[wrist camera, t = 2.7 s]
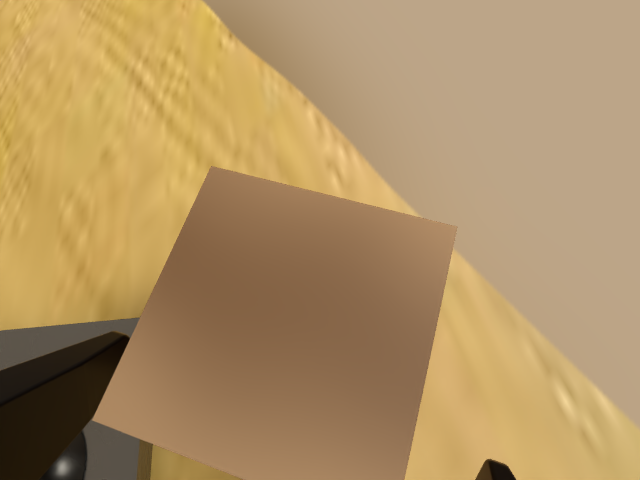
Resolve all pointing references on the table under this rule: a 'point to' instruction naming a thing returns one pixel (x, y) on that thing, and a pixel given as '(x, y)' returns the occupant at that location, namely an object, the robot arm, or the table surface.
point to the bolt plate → (95, 439)
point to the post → (285, 335)
